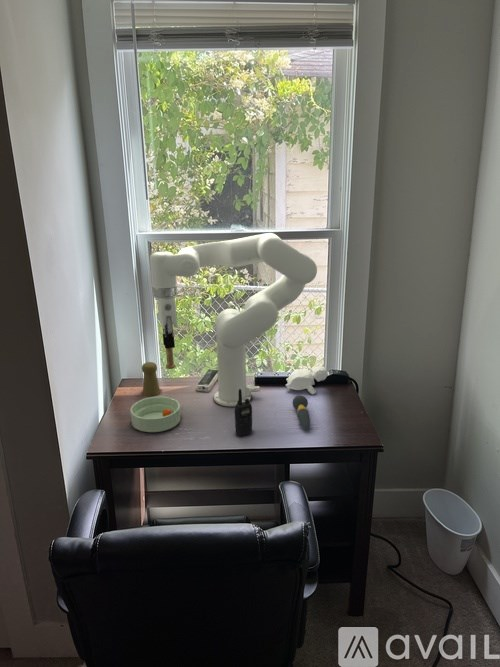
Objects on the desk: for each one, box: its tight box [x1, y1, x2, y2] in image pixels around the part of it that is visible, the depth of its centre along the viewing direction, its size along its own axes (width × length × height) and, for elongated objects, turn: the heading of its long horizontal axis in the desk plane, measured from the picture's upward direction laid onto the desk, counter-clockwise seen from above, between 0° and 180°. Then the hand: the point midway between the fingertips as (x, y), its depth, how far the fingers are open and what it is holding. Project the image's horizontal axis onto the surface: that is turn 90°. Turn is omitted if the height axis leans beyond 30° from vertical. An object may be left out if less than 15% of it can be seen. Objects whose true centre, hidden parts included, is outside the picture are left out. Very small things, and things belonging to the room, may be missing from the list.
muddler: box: [165, 330, 177, 370], centre depth 168 cm, size 3×3×13 cm
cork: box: [141, 361, 161, 397], centre depth 180 cm, size 6×6×11 cm
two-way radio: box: [234, 389, 253, 437], centre depth 152 cm, size 6×4×15 cm
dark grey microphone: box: [292, 394, 311, 431], centre depth 162 cm, size 20×5×5 cm, turn 7°
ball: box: [162, 409, 172, 417], centre depth 162 cm, size 3×3×3 cm
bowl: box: [129, 396, 182, 433], centre depth 161 cm, size 15×15×5 cm
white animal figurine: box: [285, 365, 328, 395], centre depth 182 cm, size 9×8×15 cm
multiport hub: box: [196, 369, 218, 393], centre depth 188 cm, size 4×14×2 cm, turn 167°
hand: (169, 345), depth 167 cm, fingers closed on muddler, 2 cm apart
